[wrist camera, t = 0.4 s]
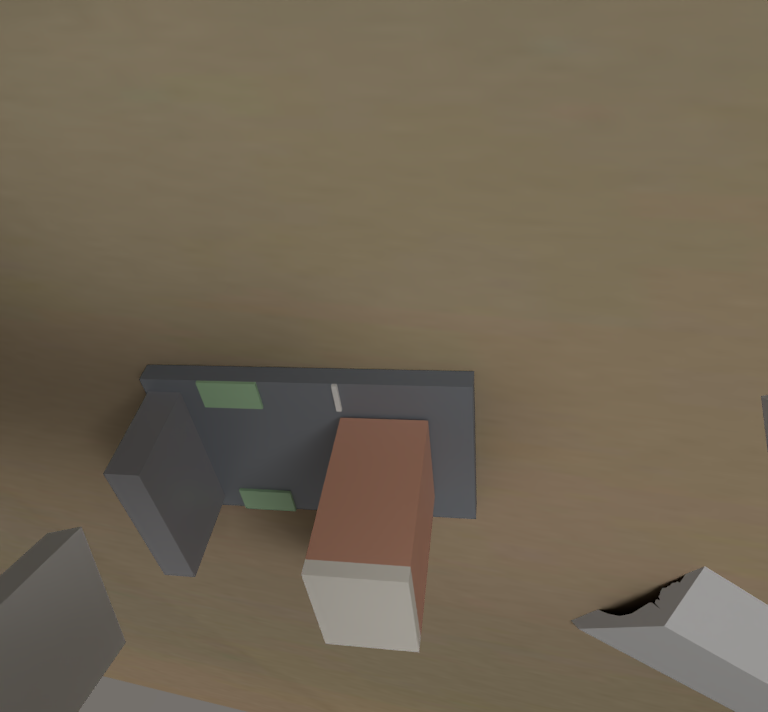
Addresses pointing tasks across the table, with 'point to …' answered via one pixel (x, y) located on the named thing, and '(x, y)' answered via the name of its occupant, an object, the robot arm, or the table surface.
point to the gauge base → (271, 444)
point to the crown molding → (697, 638)
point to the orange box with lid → (373, 535)
